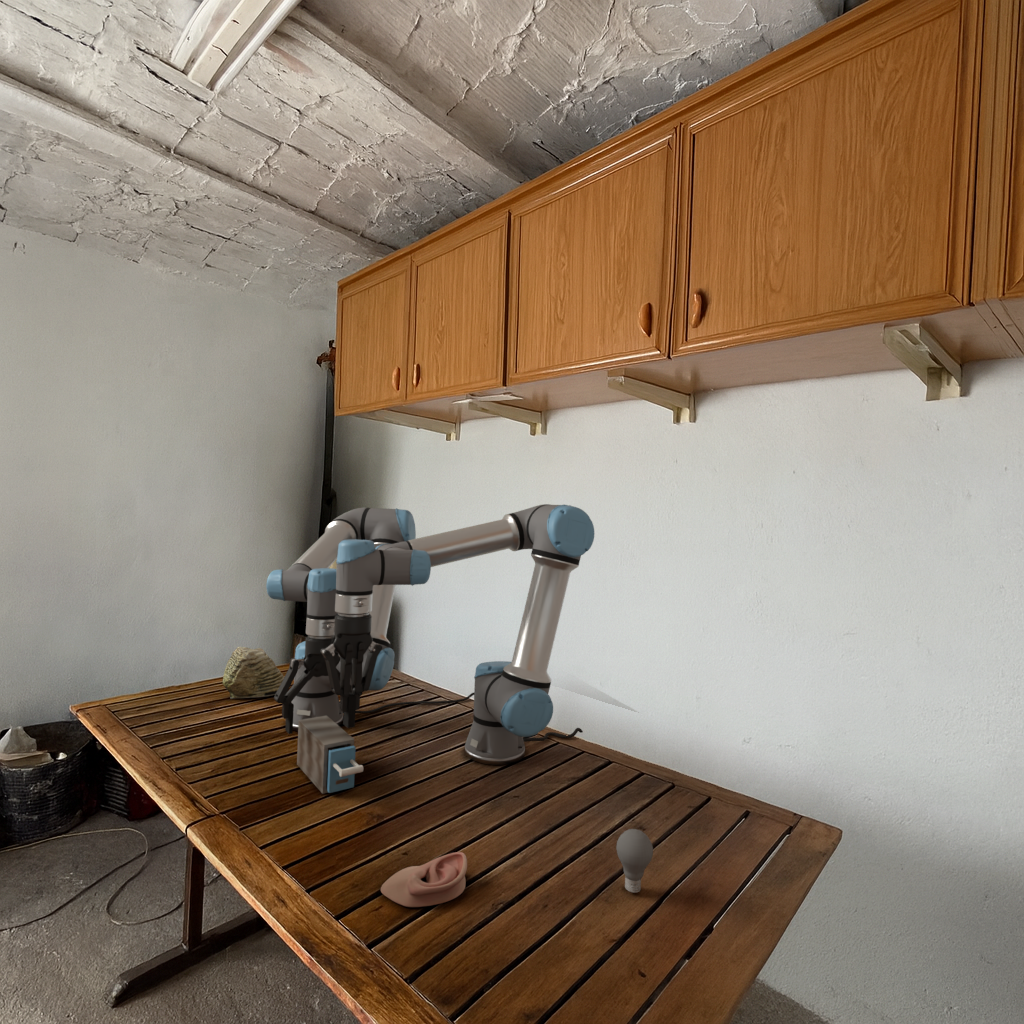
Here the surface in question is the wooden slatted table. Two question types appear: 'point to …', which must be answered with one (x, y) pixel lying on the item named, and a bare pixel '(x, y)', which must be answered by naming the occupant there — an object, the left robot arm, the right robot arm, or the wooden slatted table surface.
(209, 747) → the wooden slatted table surface
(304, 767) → the cabinet
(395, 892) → the anatomical model
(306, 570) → the left robot arm
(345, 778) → the drawer
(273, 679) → the fossil
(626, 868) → the light bulb
